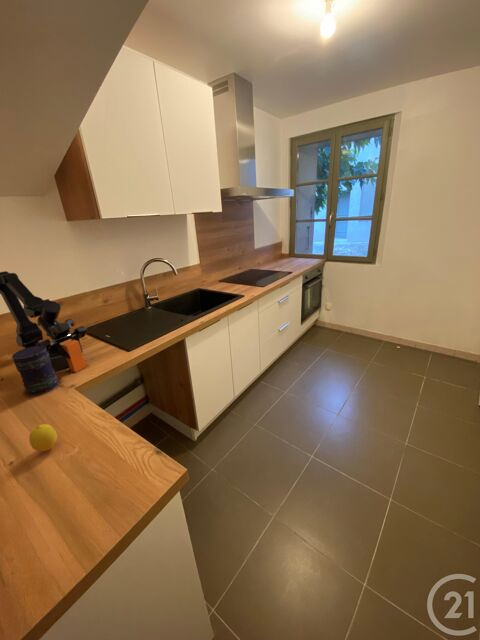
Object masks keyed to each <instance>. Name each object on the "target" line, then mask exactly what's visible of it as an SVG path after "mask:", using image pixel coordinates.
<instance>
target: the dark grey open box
mask: <svg viewBox="0 0 480 640" xmlns="http://www.w3.org/2000/svg"><path fill="white" fill-rule="evenodd" d="M60 345H61V347H62V348H63V346H62V344H60ZM48 354H49V357H50V360H51V361H50V362H51V365H52V368H53V369H54V371H55V372H56V371H59V370H63V369H66V368H70V367H69V364H68V361H67V358H66V357H63V356H61V355H59V354H55V353H49V349H48Z"/></svg>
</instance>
